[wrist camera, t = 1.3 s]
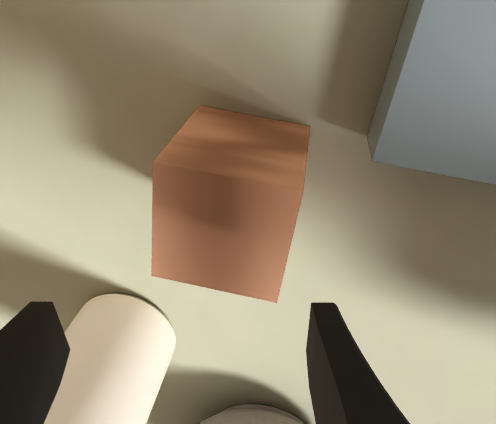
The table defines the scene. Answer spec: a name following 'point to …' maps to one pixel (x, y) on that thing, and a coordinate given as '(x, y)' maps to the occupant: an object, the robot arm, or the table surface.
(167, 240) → the block
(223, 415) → the coffee pot
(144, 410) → the can
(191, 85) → the table surface
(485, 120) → the base
